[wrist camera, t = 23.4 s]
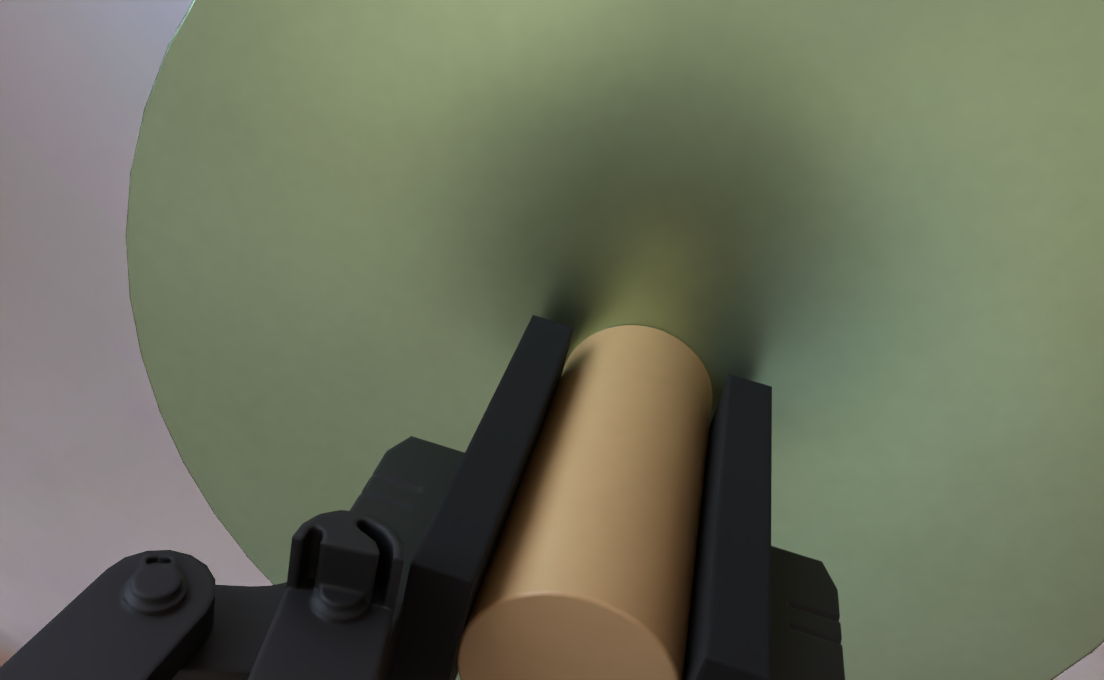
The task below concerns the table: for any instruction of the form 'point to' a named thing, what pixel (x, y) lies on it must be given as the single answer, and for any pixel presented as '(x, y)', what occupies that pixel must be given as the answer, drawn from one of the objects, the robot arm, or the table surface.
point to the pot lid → (653, 299)
